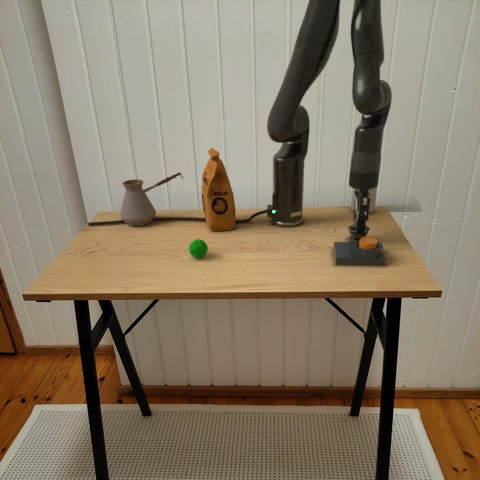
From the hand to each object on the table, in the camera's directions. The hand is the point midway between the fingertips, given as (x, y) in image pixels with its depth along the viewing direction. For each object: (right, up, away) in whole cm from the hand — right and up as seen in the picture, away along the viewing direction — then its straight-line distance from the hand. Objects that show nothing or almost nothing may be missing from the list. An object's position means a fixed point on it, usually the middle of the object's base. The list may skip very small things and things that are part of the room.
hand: (358, 227), depth 126 cm
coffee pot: (-61, +6, +22) cm, 65 cm away
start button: (0, -7, -11) cm, 13 cm away
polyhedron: (-44, -9, -3) cm, 45 cm away
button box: (-2, -9, -8) cm, 12 cm away
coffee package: (-39, +4, +17) cm, 43 cm away
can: (+7, +10, +22) cm, 25 cm away
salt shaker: (0, -3, +2) cm, 4 cm away
